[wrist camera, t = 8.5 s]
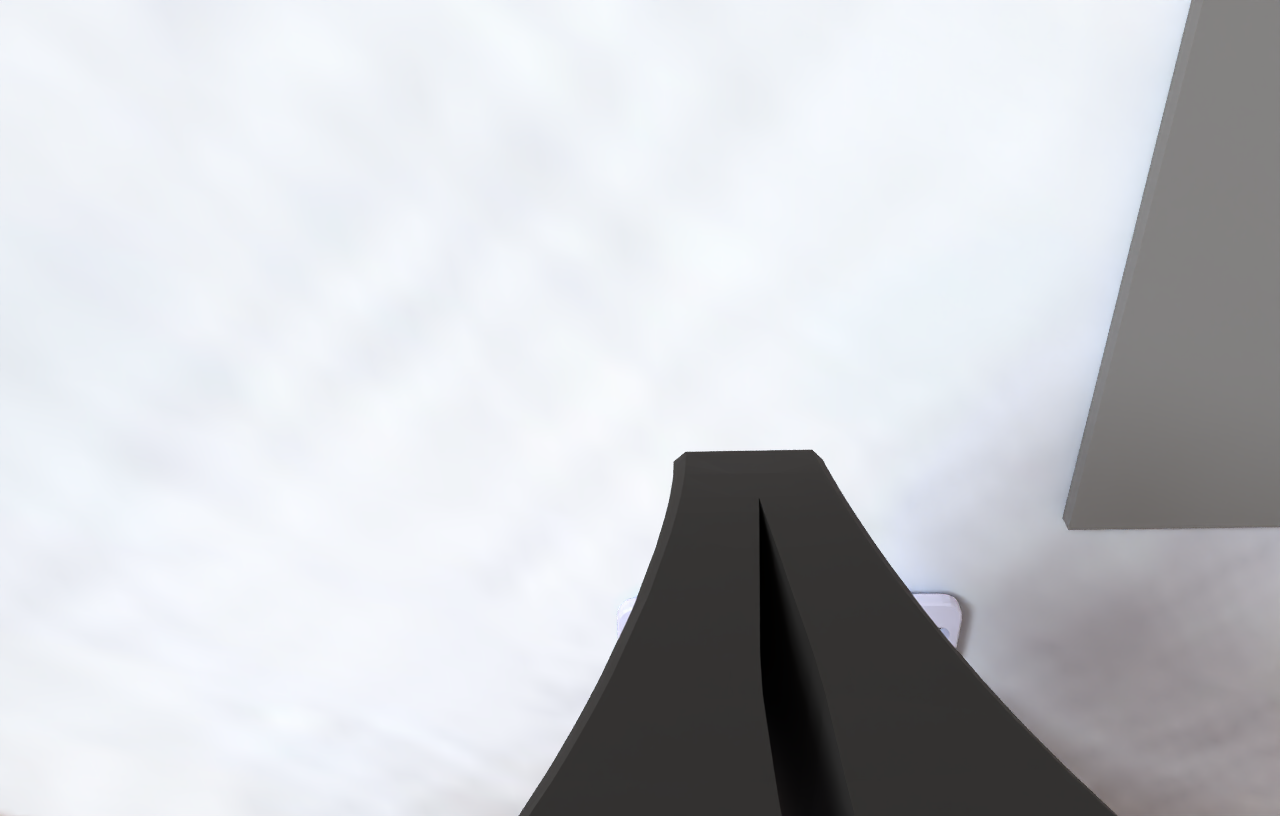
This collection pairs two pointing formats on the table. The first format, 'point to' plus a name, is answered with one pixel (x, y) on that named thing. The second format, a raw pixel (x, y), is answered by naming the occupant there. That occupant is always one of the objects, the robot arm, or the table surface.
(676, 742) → the robot arm
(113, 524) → the table surface
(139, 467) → the table surface
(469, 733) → the table surface
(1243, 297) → the mat
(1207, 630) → the table surface
